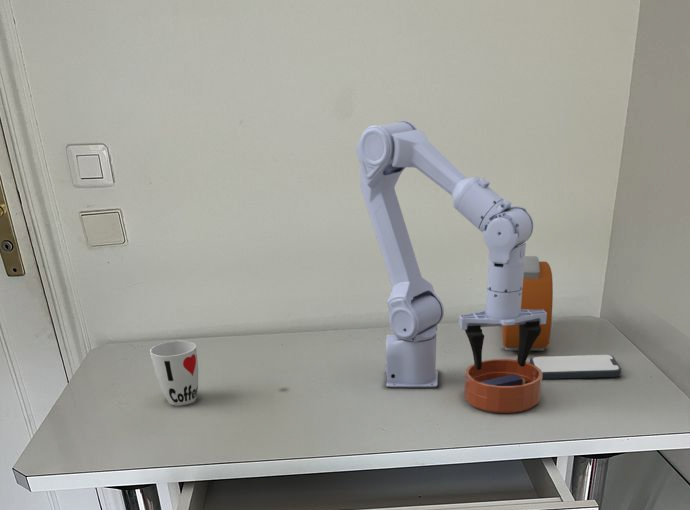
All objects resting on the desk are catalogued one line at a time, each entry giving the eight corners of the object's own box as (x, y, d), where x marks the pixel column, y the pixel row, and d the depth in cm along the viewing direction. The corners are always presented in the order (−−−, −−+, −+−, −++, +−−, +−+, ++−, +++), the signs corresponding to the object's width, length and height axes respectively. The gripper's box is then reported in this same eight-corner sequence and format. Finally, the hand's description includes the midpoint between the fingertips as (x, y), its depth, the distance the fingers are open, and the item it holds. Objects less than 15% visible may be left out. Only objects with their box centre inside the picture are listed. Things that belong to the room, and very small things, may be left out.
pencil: (481, 403, 127) (482, 387, 126) (473, 398, 129) (474, 382, 128) (529, 392, 131) (530, 377, 129) (520, 387, 133) (522, 372, 131)
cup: (166, 412, 130) (156, 359, 125) (155, 397, 136) (144, 346, 131) (210, 402, 133) (201, 350, 128) (197, 388, 140) (188, 337, 134)
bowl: (465, 414, 125) (466, 387, 122) (463, 384, 136) (464, 358, 134) (543, 414, 124) (546, 387, 121) (535, 384, 135) (538, 358, 132)
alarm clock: (500, 320, 167) (504, 244, 158) (540, 320, 166) (547, 244, 157) (503, 356, 147) (508, 273, 139) (548, 357, 146) (557, 272, 137)
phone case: (534, 381, 137) (622, 378, 135) (535, 373, 136) (623, 370, 135) (528, 364, 144) (611, 361, 143) (529, 356, 143) (612, 353, 142)
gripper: (466, 297, 116) (463, 377, 123) (555, 291, 117) (547, 371, 124) (457, 285, 122) (454, 362, 129) (542, 280, 123) (534, 356, 130)
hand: (499, 366), depth 127 cm, fingers open, 7 cm apart
